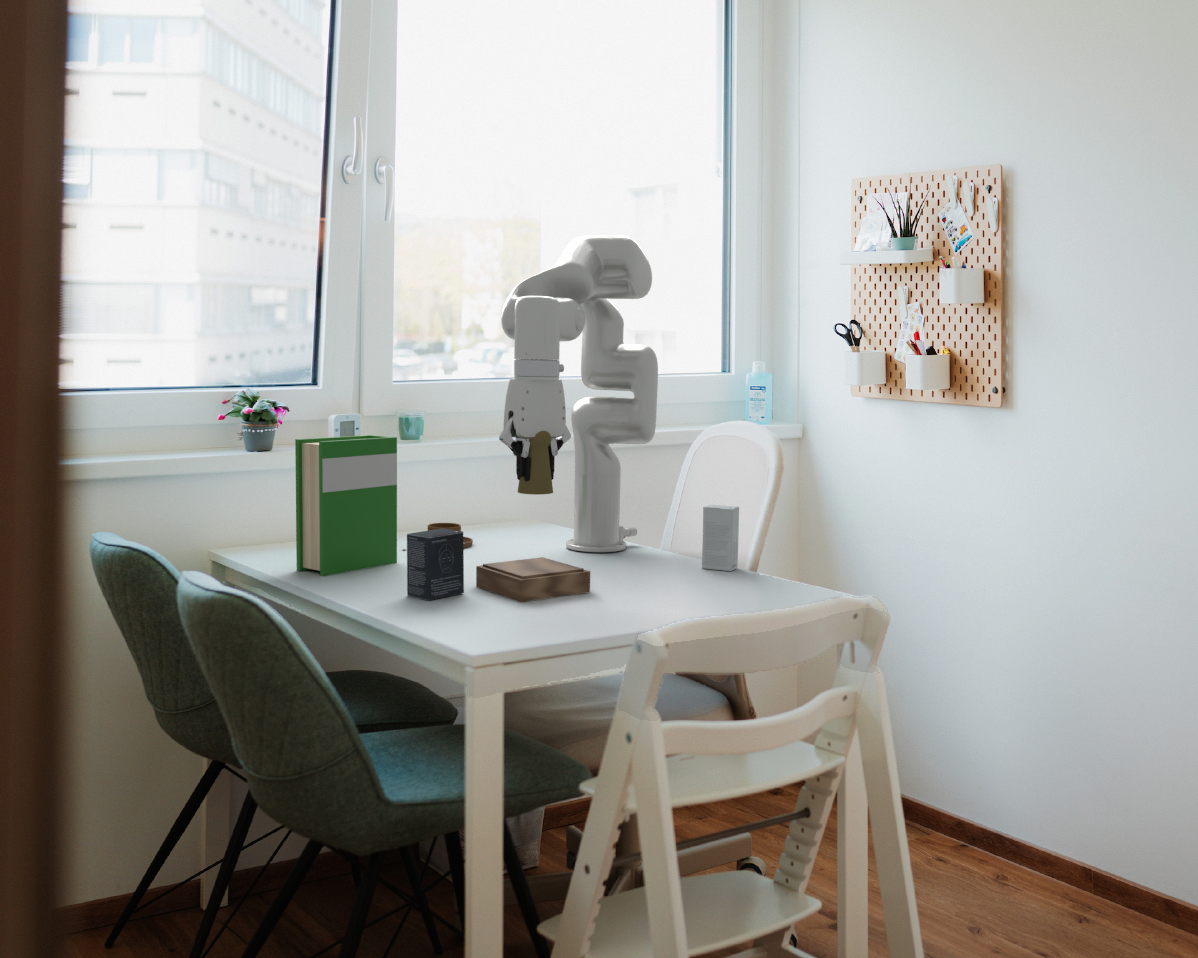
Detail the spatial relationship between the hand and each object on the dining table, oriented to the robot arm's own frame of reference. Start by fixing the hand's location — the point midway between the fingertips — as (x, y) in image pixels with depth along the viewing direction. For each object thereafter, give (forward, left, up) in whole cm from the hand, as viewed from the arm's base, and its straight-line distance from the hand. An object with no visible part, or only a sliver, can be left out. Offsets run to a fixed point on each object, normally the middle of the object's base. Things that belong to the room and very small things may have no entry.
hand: (535, 478), depth 183 cm
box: (+16, -5, -19) cm, 26 cm away
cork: (0, 0, -2) cm, 2 cm away
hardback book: (+18, -35, -19) cm, 44 cm away
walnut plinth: (0, 0, -19) cm, 19 cm away
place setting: (-5, -49, -20) cm, 53 cm away
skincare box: (-41, +3, -19) cm, 45 cm away
